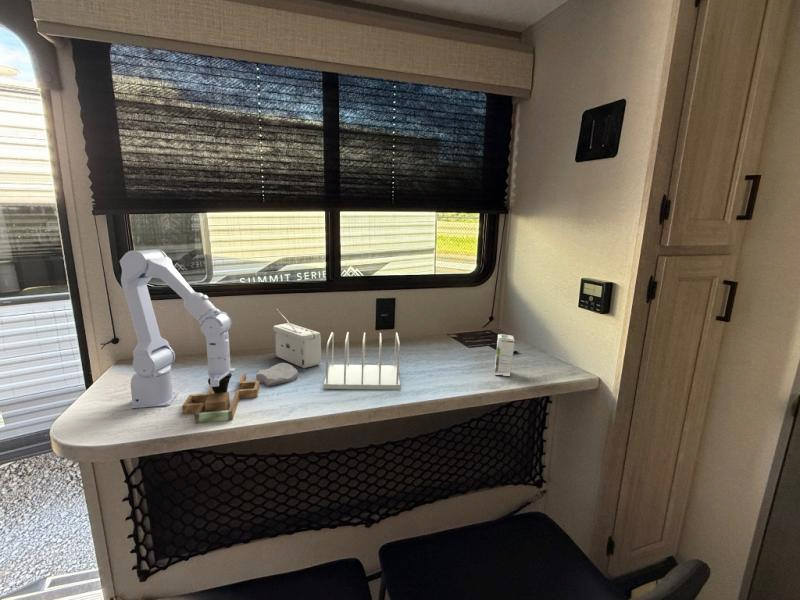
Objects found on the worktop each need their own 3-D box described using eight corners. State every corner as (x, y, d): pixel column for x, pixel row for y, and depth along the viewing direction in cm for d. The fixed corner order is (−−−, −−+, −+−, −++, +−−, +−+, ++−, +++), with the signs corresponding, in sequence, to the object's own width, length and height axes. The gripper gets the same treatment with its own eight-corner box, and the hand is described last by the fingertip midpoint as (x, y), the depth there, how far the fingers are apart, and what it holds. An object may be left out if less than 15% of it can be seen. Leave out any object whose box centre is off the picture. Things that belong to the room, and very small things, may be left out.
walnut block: (205, 418, 99) (204, 403, 98) (210, 408, 104) (209, 393, 103) (226, 416, 100) (225, 401, 99) (229, 406, 106) (229, 392, 105)
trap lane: (175, 425, 95) (175, 416, 94) (202, 383, 120) (201, 376, 120) (252, 417, 100) (252, 409, 99) (261, 379, 125) (261, 372, 125)
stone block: (301, 382, 128) (284, 370, 133) (302, 370, 126) (285, 358, 132) (270, 395, 119) (254, 381, 124) (271, 382, 117) (254, 368, 123)
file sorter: (323, 389, 119) (322, 343, 116) (329, 369, 136) (329, 329, 133) (400, 389, 120) (401, 344, 117) (397, 370, 137) (398, 330, 134)
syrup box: (494, 370, 140) (497, 333, 137) (510, 372, 138) (513, 335, 136) (494, 375, 134) (497, 337, 131) (511, 377, 133) (514, 339, 130)
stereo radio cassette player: (322, 365, 140) (321, 314, 136) (303, 370, 134) (302, 317, 130) (290, 352, 153) (289, 305, 149) (272, 357, 147) (271, 308, 143)
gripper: (229, 363, 98) (232, 410, 101) (238, 346, 112) (240, 388, 115) (200, 365, 96) (203, 412, 99) (212, 348, 110) (215, 390, 113)
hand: (221, 399), depth 107 cm, fingers closed
